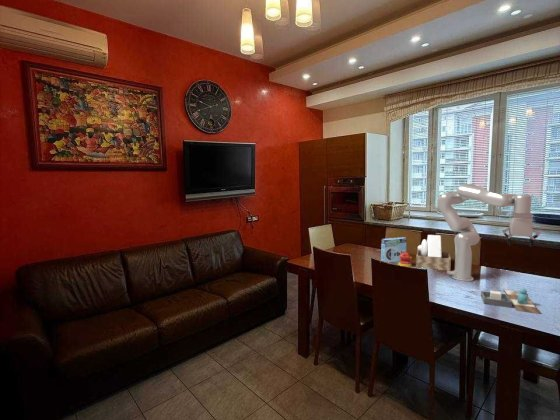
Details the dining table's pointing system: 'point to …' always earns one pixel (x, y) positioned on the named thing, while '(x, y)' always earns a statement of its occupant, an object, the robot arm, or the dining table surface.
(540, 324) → the dining table surface
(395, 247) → the gum box
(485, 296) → the tray
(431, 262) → the dish corral
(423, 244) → the butter dish
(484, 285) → the dining table surface
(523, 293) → the pawn
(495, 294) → the die
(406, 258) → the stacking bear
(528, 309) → the board
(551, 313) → the dining table surface
